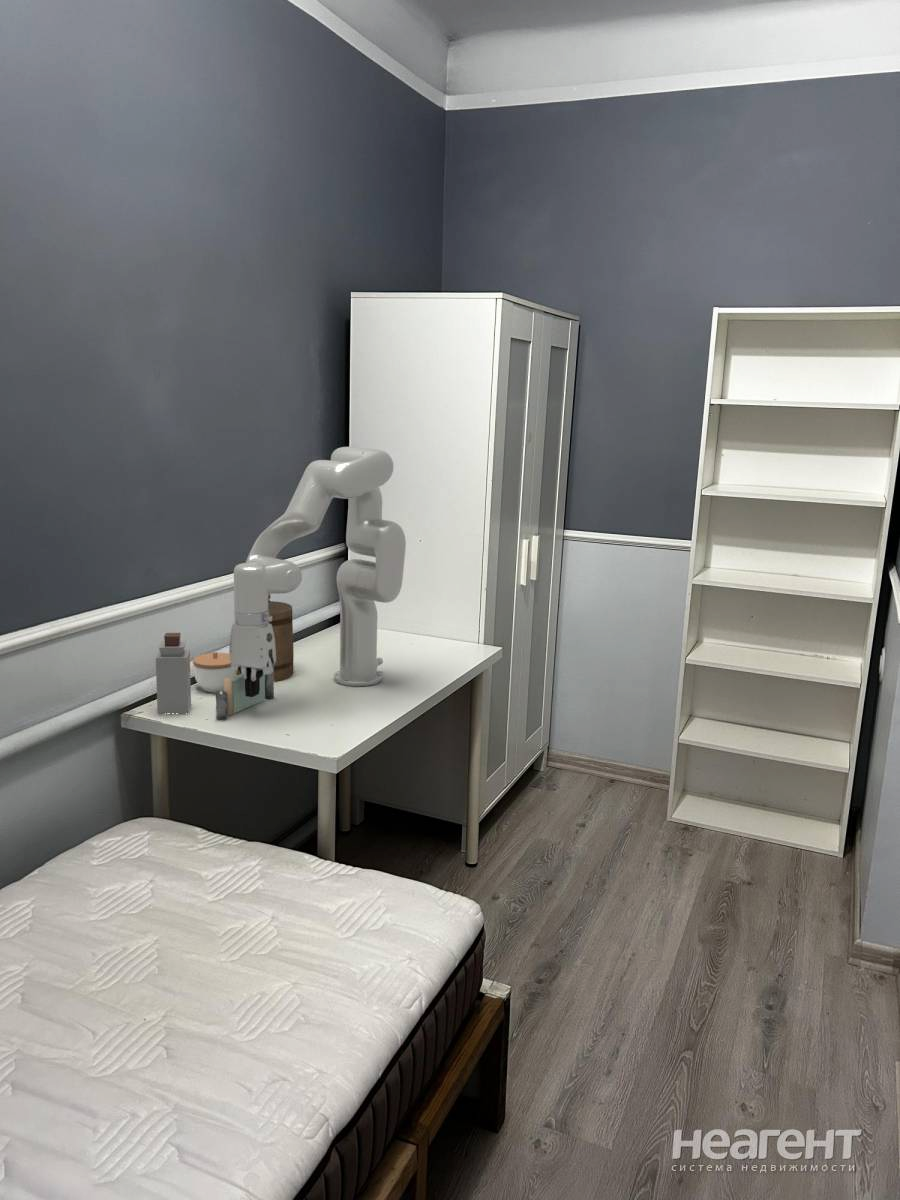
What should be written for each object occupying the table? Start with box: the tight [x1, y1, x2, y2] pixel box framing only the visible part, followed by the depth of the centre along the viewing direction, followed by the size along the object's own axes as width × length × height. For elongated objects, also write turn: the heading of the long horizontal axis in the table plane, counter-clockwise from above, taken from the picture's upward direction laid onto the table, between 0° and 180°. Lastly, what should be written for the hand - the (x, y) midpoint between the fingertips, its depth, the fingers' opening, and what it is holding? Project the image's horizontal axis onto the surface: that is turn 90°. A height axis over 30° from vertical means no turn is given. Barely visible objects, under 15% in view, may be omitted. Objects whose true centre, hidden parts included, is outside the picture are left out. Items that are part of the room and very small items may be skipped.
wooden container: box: [236, 594, 295, 682], centre depth 243 cm, size 15×15×22 cm
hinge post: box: [265, 665, 275, 701], centre depth 226 cm, size 3×3×10 cm
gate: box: [223, 674, 266, 716], centre depth 219 cm, size 14×2×8 cm, turn 153°
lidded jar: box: [192, 651, 237, 693], centre depth 232 cm, size 11×11×9 cm
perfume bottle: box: [155, 632, 192, 715], centre depth 215 cm, size 7×7×18 cm
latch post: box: [215, 691, 228, 721], centre depth 213 cm, size 7×4×7 cm, turn 154°
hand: (252, 695), depth 215 cm, fingers closed
